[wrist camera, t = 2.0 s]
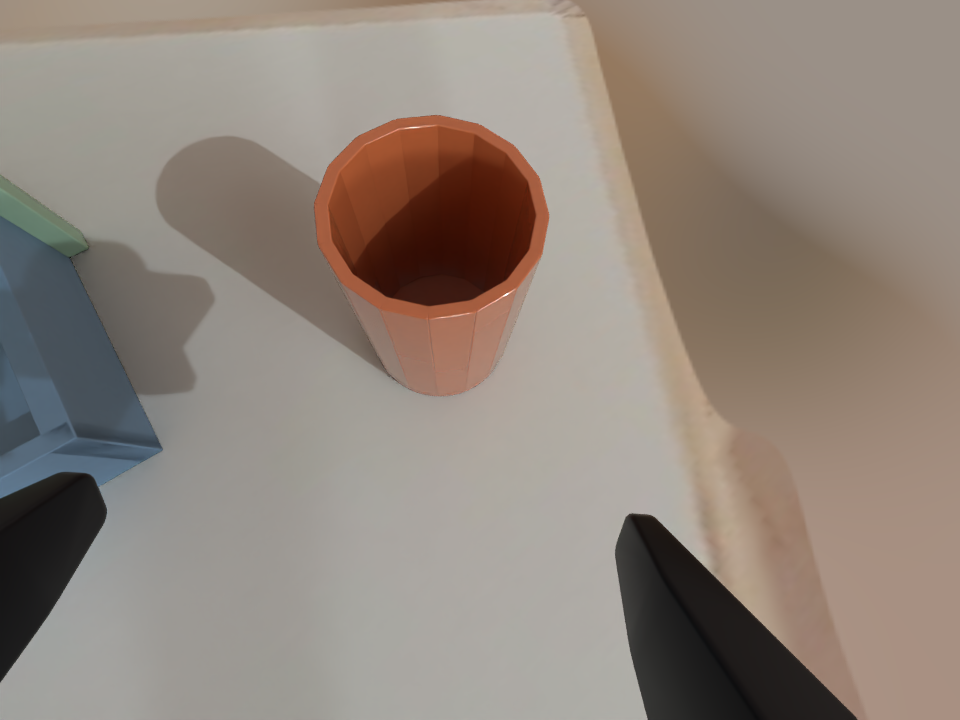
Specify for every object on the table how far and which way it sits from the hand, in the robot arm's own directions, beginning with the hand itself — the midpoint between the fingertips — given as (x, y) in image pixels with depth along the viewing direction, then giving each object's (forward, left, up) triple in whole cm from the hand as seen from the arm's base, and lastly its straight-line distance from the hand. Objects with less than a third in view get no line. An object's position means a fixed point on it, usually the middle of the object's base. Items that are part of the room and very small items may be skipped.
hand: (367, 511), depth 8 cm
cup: (+4, -7, -13) cm, 16 cm away
